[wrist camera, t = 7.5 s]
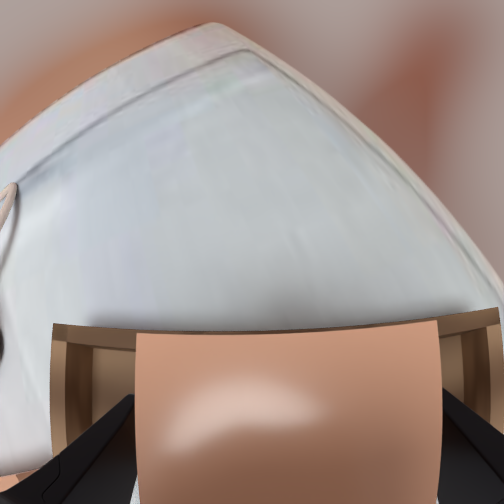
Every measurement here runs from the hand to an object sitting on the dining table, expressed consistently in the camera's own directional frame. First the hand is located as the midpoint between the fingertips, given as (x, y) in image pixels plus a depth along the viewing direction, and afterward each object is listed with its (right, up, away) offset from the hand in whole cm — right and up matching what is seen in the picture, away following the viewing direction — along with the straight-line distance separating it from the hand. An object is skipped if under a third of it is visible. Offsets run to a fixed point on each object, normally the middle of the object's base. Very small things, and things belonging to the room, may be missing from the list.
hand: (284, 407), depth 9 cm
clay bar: (+1, -4, +7) cm, 8 cm away
